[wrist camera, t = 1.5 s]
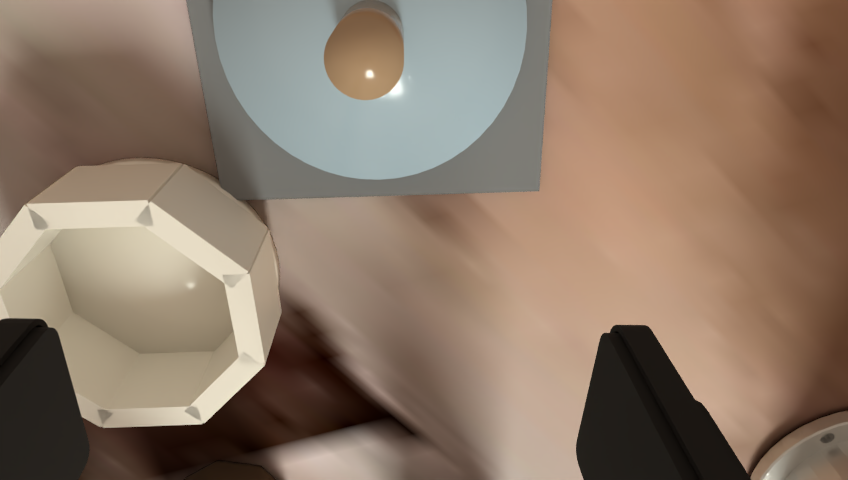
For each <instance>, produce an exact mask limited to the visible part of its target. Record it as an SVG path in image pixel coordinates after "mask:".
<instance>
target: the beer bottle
mask: <svg viewBox="0 0 848 480" xmlns="http://www.w3.org/2000/svg"><path fill="white" fill-rule="evenodd" d="M184 480H276V479H275V478H274V477H273V476H271V475H270V474H269V473H268V472H267V471H266V470H265V469H264V468H263V467H262V466H259V465H251V464H243V463H235V462H227V461H219V460H218V461H216V462H214V463H212V464H210V465H209V466H207V467H205V468H203V469H201V470H199V471H198V472H196V473H194V474H192V475H190V476H188V477H187V478H185V479H184Z"/></svg>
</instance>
